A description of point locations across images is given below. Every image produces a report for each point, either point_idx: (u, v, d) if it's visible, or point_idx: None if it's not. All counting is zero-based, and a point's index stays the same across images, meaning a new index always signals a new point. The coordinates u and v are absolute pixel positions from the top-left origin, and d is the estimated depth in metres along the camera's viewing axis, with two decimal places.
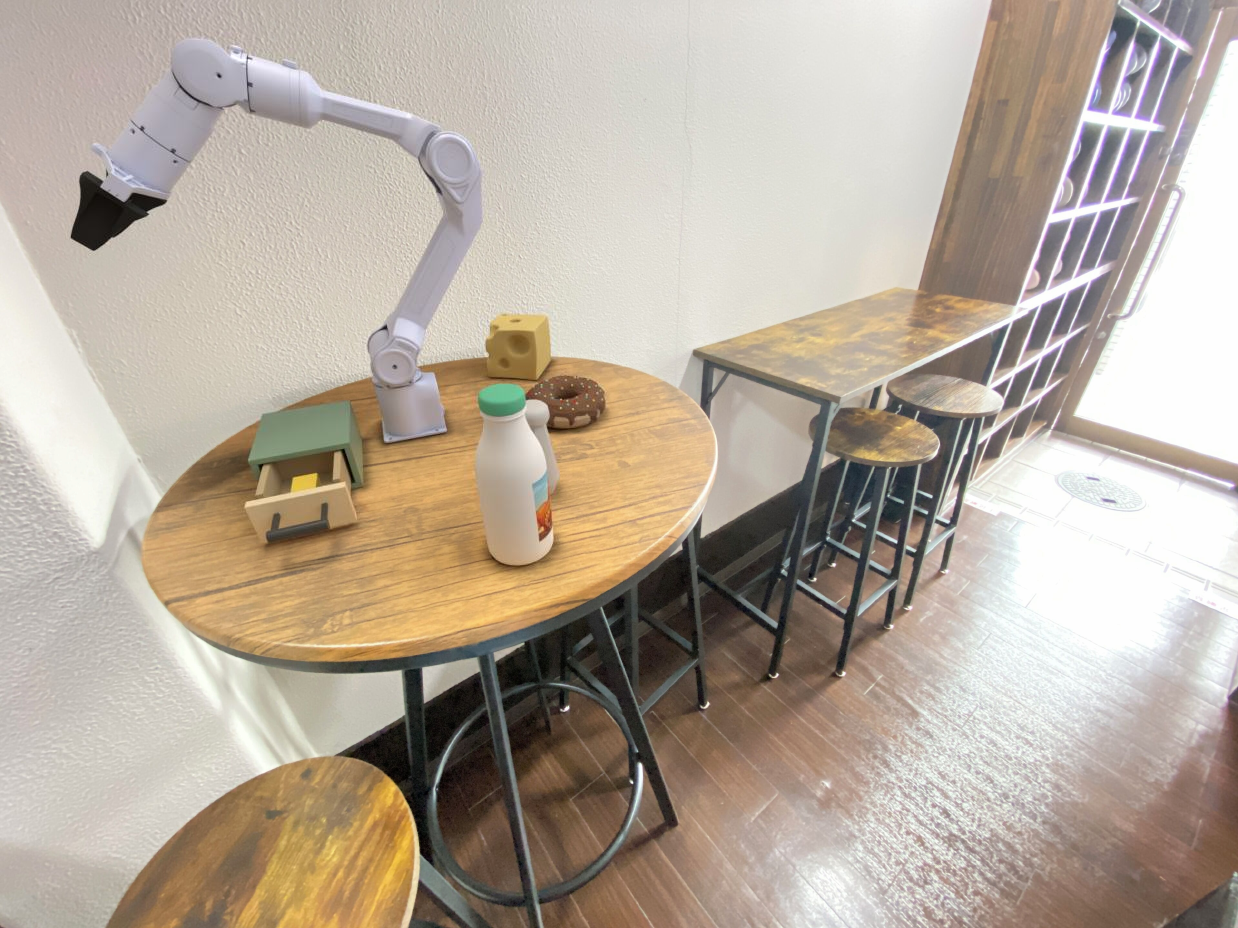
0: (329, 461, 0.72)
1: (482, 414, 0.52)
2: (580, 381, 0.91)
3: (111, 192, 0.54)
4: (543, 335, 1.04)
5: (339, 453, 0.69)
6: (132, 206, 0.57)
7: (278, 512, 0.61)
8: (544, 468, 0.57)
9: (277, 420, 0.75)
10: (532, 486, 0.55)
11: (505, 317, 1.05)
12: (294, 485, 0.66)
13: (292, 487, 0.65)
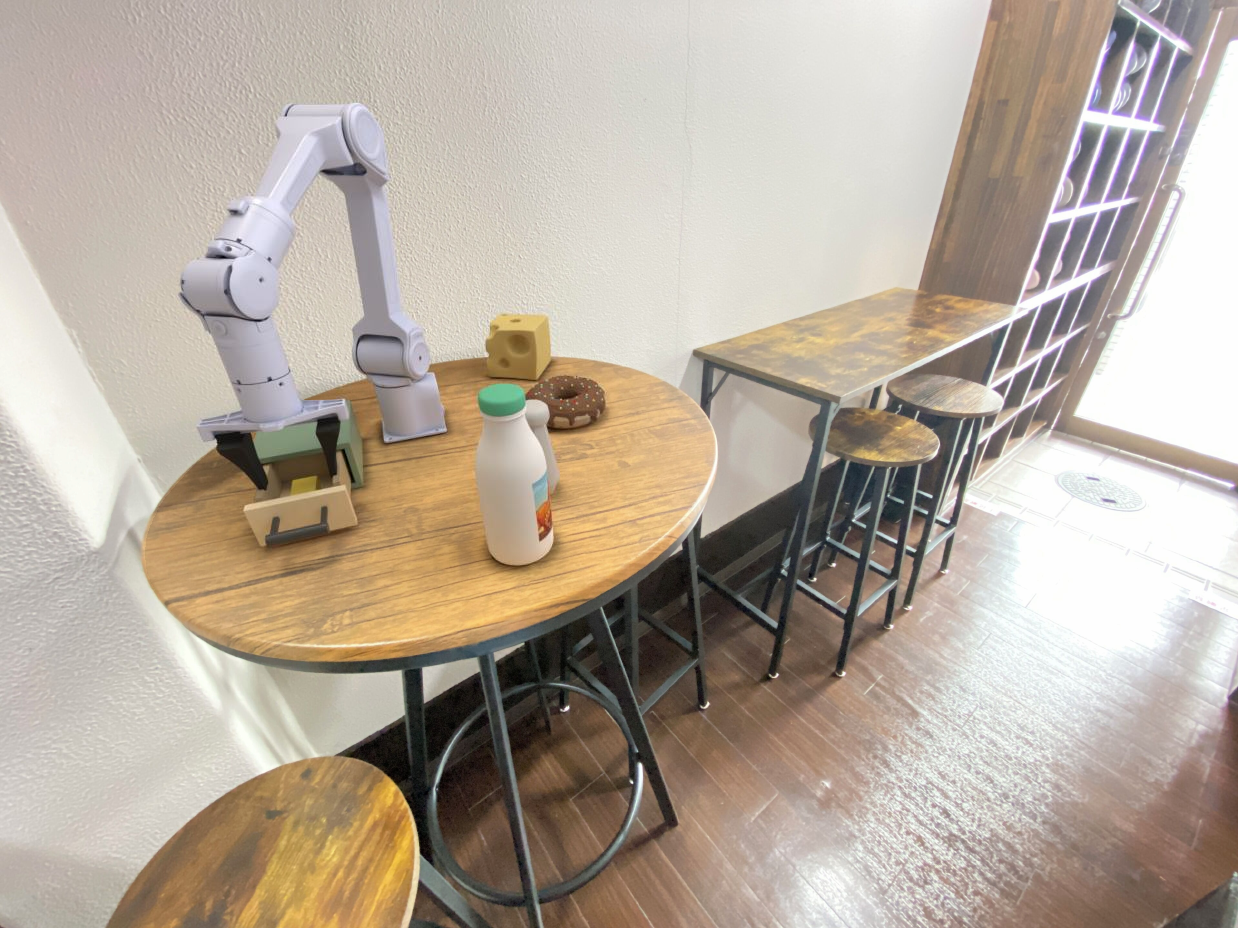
0: None
1: (482, 414, 0.52)
2: (580, 381, 0.91)
3: (348, 415, 0.63)
4: (543, 335, 1.04)
5: (339, 455, 0.69)
6: None
7: (277, 515, 0.61)
8: (544, 468, 0.57)
9: None
10: (532, 486, 0.55)
11: (505, 317, 1.05)
12: (294, 488, 0.65)
13: (292, 490, 0.65)
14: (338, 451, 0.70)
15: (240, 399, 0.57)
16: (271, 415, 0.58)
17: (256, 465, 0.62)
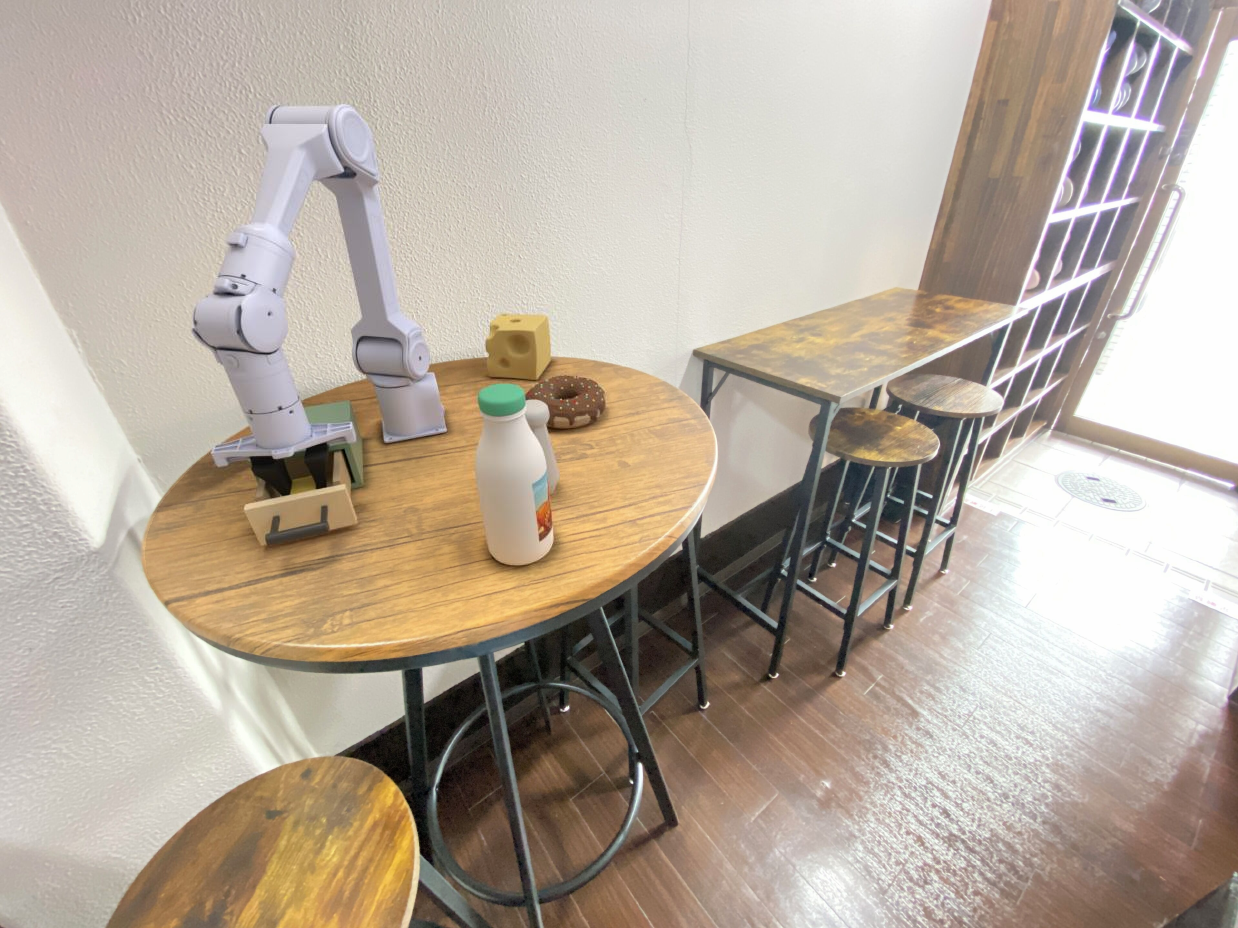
0: (329, 463, 0.72)
1: (482, 414, 0.52)
2: (580, 381, 0.91)
3: (355, 437, 0.65)
4: (543, 335, 1.04)
5: (339, 455, 0.69)
6: None
7: (277, 514, 0.61)
8: (544, 468, 0.57)
9: None
10: (532, 486, 0.55)
11: (505, 317, 1.05)
12: (294, 487, 0.65)
13: (292, 489, 0.65)
14: (338, 450, 0.70)
15: (252, 427, 0.59)
16: (282, 442, 0.60)
17: (287, 483, 0.65)
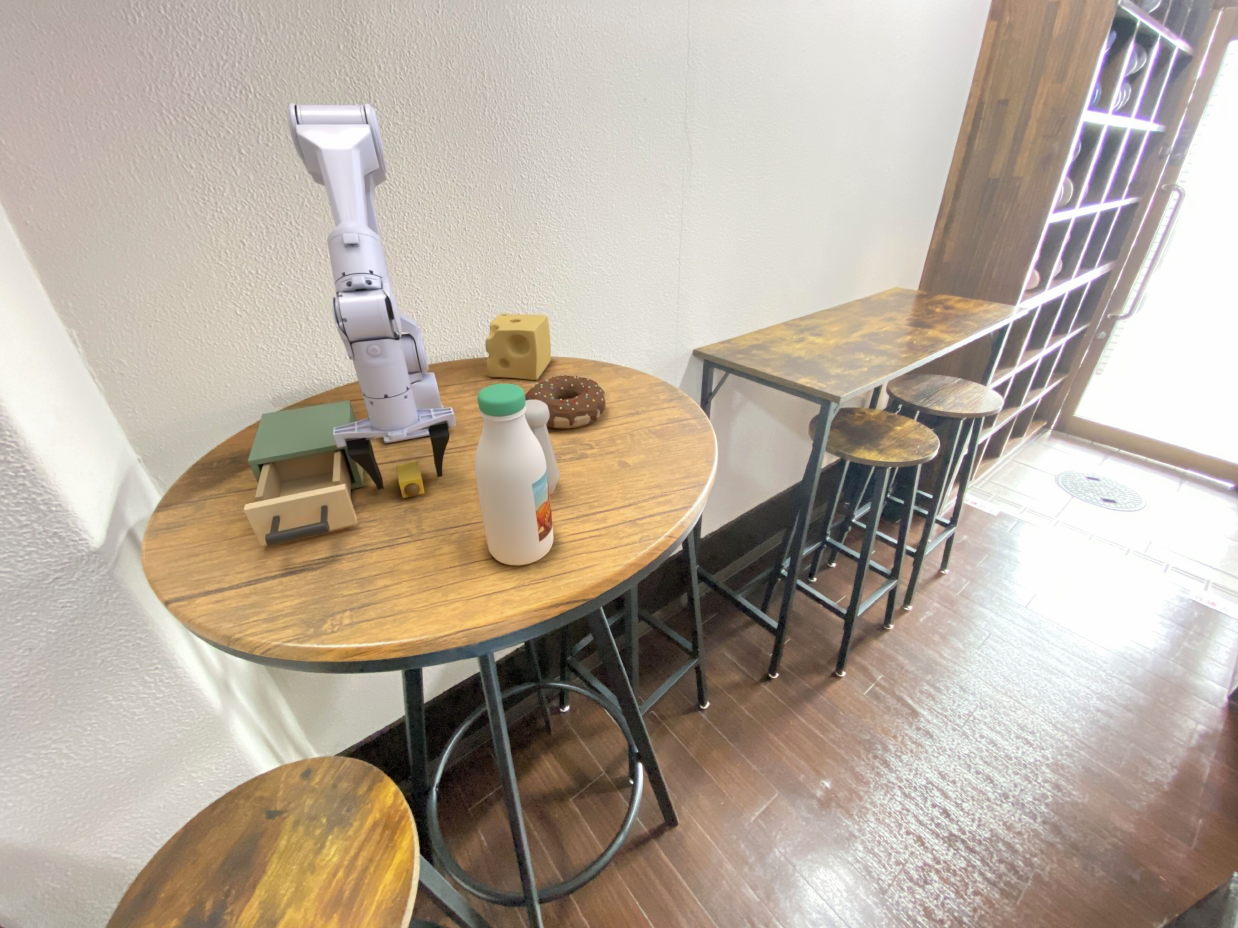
0: (329, 463, 0.72)
1: (482, 414, 0.52)
2: (580, 381, 0.91)
3: None
4: (543, 335, 1.04)
5: (339, 455, 0.69)
6: None
7: (277, 514, 0.61)
8: (544, 468, 0.57)
9: (277, 420, 0.75)
10: (532, 486, 0.55)
11: (505, 317, 1.05)
12: (400, 472, 0.72)
13: (398, 474, 0.71)
14: (338, 450, 0.70)
15: (371, 411, 0.65)
16: (397, 424, 0.66)
17: (376, 467, 0.70)
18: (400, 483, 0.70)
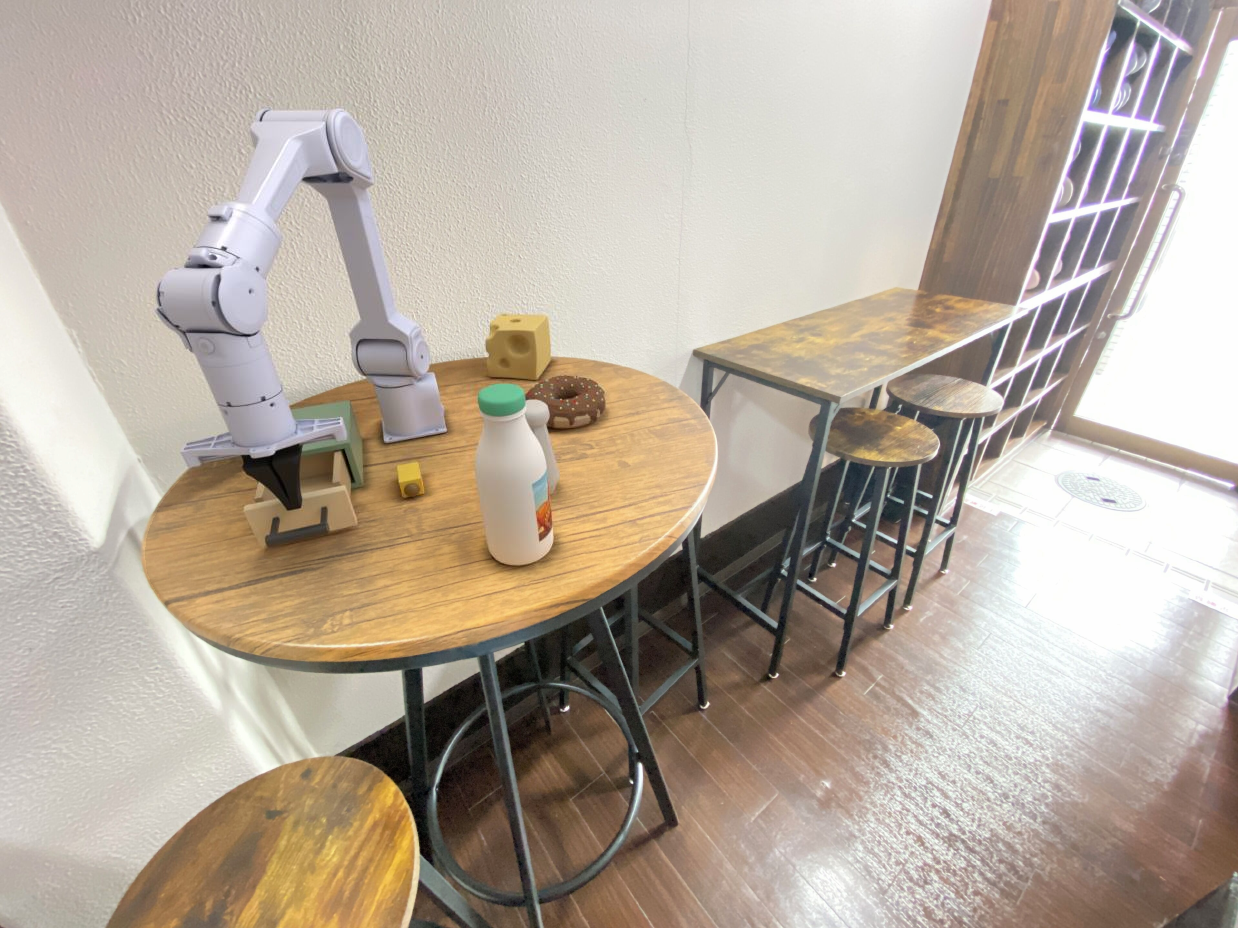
0: (329, 464, 0.72)
1: (482, 414, 0.52)
2: (580, 381, 0.91)
3: (346, 435, 0.58)
4: (543, 335, 1.04)
5: (339, 456, 0.69)
6: None
7: (277, 515, 0.61)
8: (544, 468, 0.57)
9: None
10: (532, 486, 0.55)
11: (505, 317, 1.05)
12: (400, 472, 0.72)
13: (398, 474, 0.71)
14: (338, 451, 0.70)
15: (227, 422, 0.52)
16: (262, 439, 0.53)
17: (283, 483, 0.58)
18: (400, 483, 0.70)
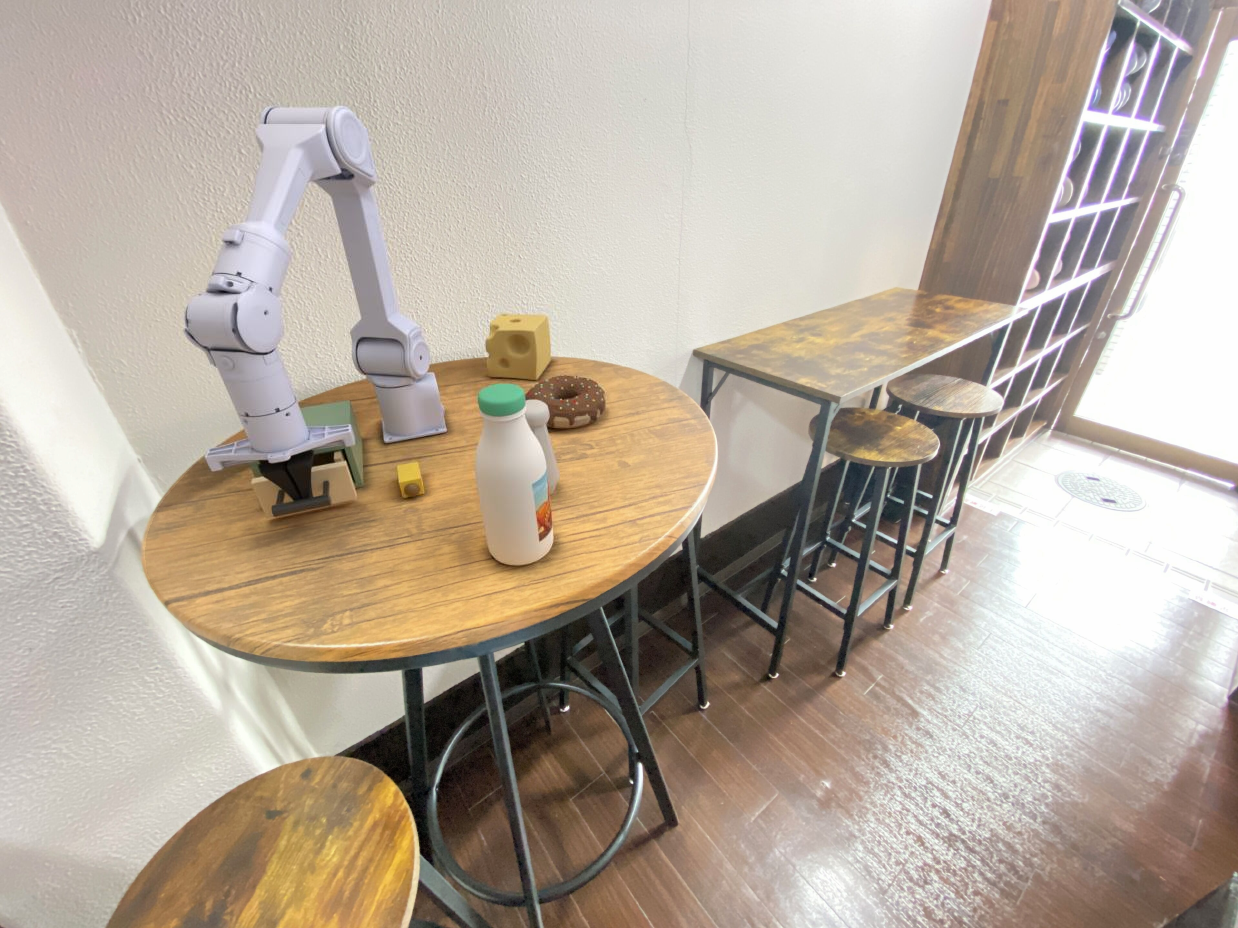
0: None
1: (482, 414, 0.52)
2: (580, 381, 0.91)
3: (354, 440, 0.63)
4: (543, 335, 1.04)
5: None
6: None
7: None
8: (544, 468, 0.57)
9: None
10: (532, 486, 0.55)
11: (505, 317, 1.05)
12: (400, 472, 0.72)
13: (399, 474, 0.71)
14: None
15: (247, 430, 0.57)
16: (278, 445, 0.58)
17: (297, 485, 0.63)
18: (400, 483, 0.70)
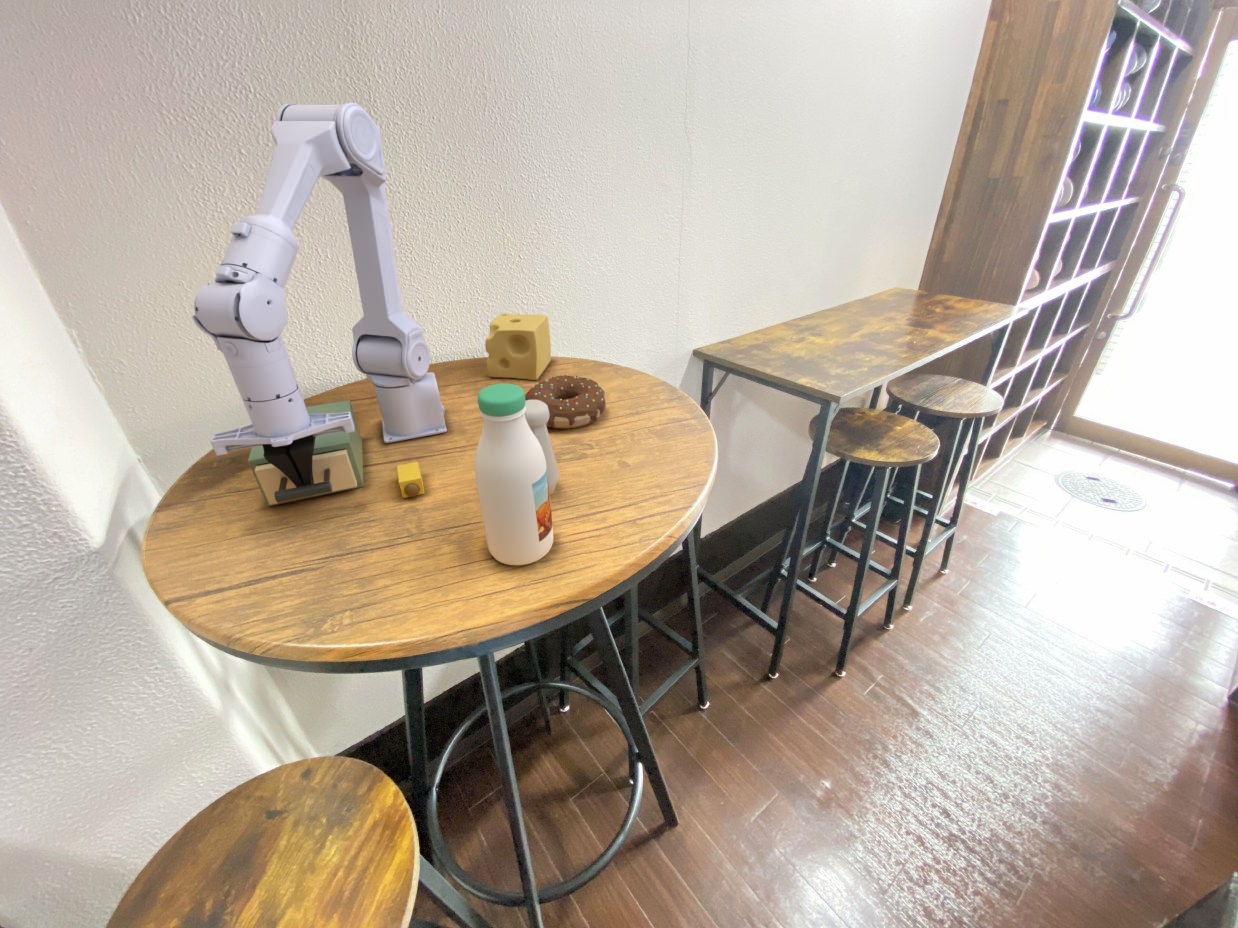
0: None
1: (482, 414, 0.52)
2: (580, 381, 0.91)
3: (354, 427, 0.66)
4: (543, 335, 1.04)
5: None
6: None
7: (285, 476, 0.67)
8: (544, 468, 0.57)
9: None
10: (532, 486, 0.55)
11: (505, 317, 1.05)
12: (400, 472, 0.72)
13: (398, 474, 0.71)
14: None
15: (251, 415, 0.59)
16: (281, 430, 0.60)
17: (298, 470, 0.66)
18: (400, 483, 0.70)
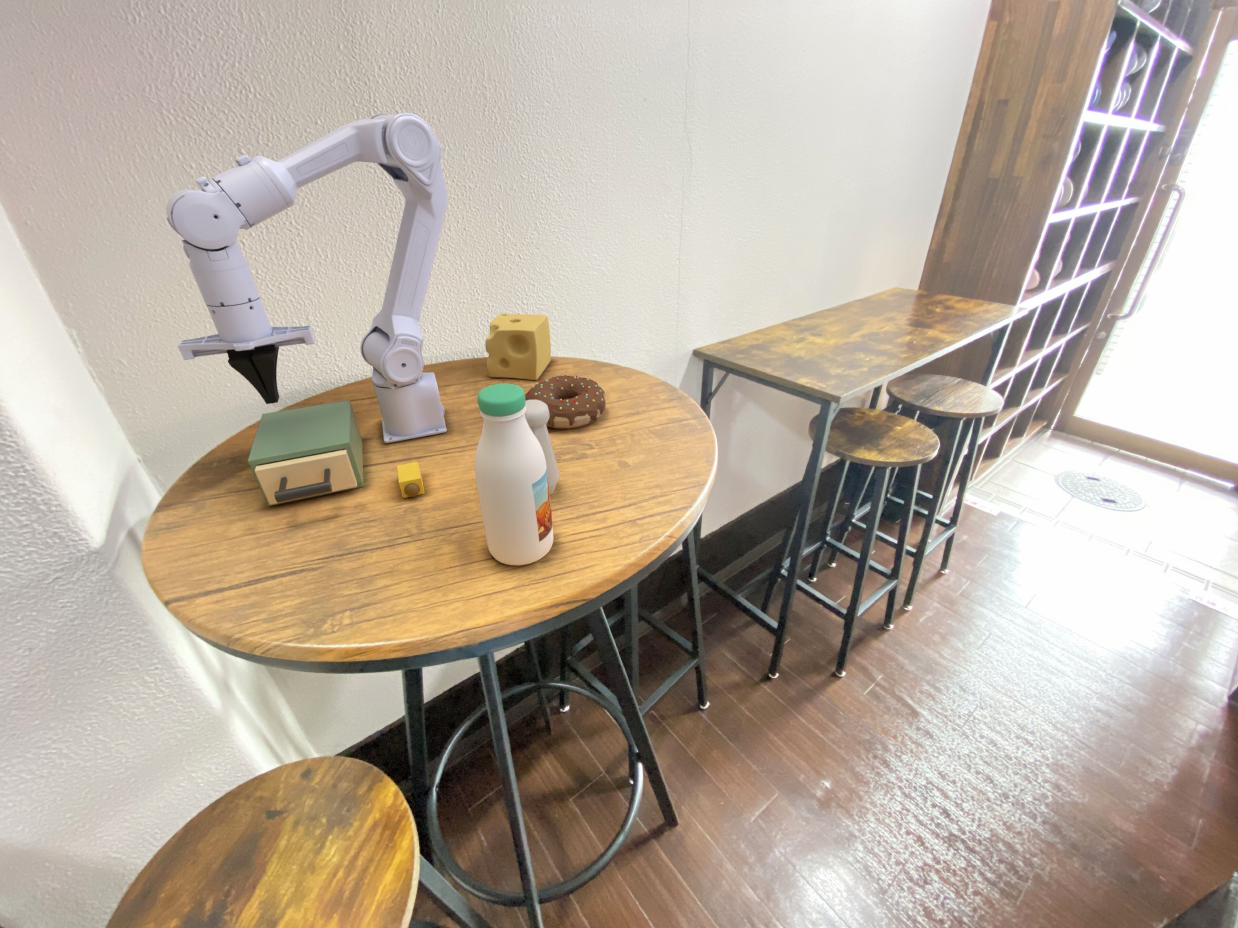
0: None
1: (482, 414, 0.52)
2: (580, 381, 0.91)
3: (314, 340, 0.71)
4: (543, 335, 1.04)
5: None
6: None
7: (285, 476, 0.67)
8: (544, 468, 0.57)
9: (277, 420, 0.75)
10: (532, 486, 0.55)
11: (505, 317, 1.05)
12: (400, 472, 0.72)
13: (398, 474, 0.71)
14: None
15: (215, 321, 0.64)
16: (243, 336, 0.65)
17: (263, 380, 0.71)
18: (400, 483, 0.70)
